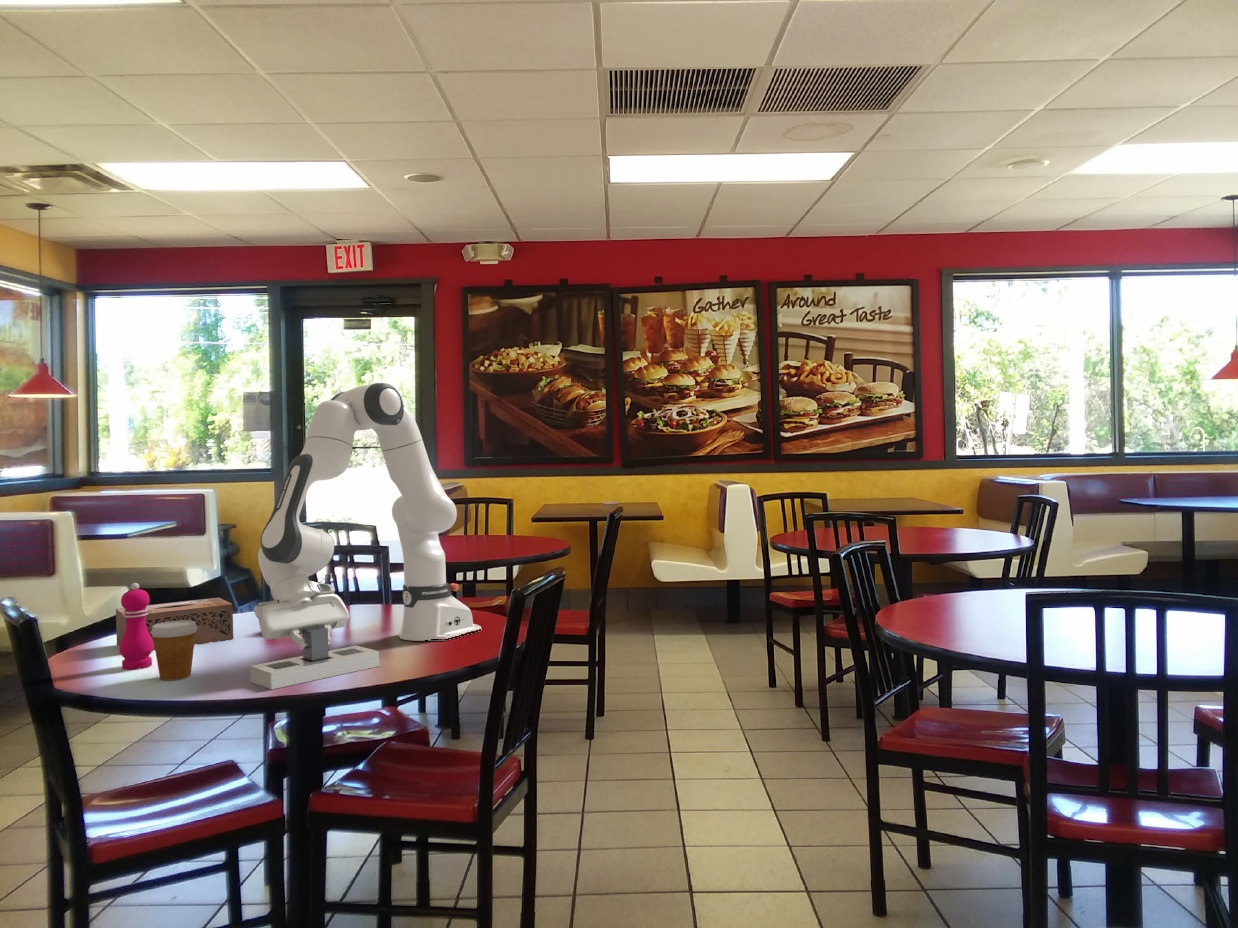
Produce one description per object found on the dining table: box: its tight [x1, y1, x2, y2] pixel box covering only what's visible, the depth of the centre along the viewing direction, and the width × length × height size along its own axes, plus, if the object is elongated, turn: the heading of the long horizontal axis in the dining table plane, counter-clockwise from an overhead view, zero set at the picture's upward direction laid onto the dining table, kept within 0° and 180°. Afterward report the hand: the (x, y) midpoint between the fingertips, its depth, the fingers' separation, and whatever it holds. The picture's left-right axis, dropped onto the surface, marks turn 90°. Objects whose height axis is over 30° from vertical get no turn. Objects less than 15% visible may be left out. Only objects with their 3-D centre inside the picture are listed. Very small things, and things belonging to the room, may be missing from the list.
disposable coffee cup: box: [151, 621, 198, 681], centre depth 201 cm, size 10×10×12 cm
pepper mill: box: [118, 582, 154, 670], centre depth 212 cm, size 7×7×20 cm
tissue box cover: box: [115, 597, 234, 650], centre depth 239 cm, size 26×14×10 cm, turn 128°
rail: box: [249, 645, 380, 690], centre depth 202 cm, size 26×10×4 cm, turn 137°
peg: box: [302, 627, 329, 662], centre depth 202 cm, size 4×4×8 cm
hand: (317, 645), depth 201 cm, fingers closed on peg, 4 cm apart
